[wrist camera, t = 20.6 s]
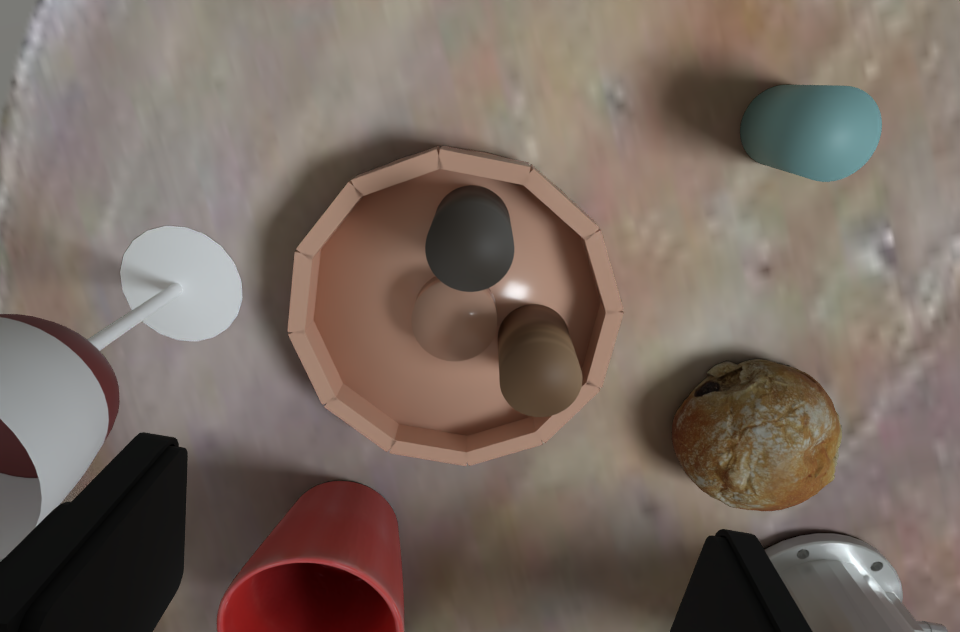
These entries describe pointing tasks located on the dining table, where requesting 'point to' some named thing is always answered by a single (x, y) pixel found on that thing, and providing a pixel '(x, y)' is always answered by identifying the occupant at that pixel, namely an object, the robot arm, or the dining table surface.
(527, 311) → the bead
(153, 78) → the dining table surface
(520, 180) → the groove dish
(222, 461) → the dining table surface
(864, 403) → the dining table surface
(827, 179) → the teal capsule
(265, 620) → the flower pot
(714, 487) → the bread roll
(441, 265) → the bead
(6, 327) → the wineglass
